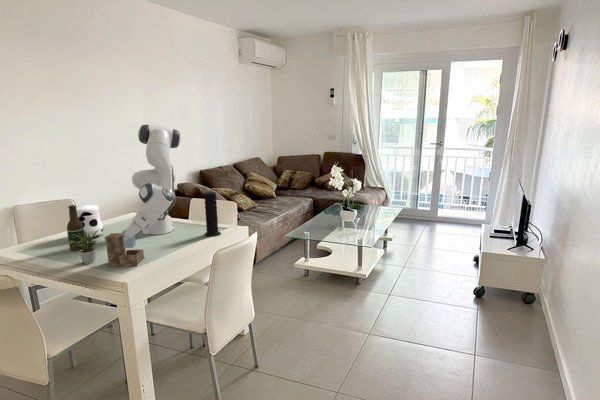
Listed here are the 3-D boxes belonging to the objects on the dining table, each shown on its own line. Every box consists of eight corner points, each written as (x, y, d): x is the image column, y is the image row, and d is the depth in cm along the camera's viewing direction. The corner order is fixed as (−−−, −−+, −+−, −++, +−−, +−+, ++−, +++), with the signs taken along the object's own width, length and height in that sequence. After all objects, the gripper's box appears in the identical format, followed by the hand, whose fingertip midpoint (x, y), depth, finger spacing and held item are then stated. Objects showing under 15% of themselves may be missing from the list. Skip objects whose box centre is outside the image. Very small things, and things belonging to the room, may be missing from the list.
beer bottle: (89, 247, 210) (83, 204, 205) (77, 251, 202) (71, 207, 198) (78, 245, 212) (73, 203, 207) (66, 250, 205) (60, 206, 200)
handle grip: (218, 236, 225) (223, 232, 234) (215, 192, 219) (220, 189, 229) (201, 236, 226) (207, 231, 235) (198, 192, 220) (204, 189, 230)
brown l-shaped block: (144, 258, 191) (141, 231, 188) (137, 266, 181) (134, 237, 178) (115, 259, 190) (112, 232, 187) (106, 266, 180) (102, 238, 178)
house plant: (93, 254, 197) (89, 224, 194) (112, 258, 192) (109, 226, 189) (67, 264, 184) (62, 231, 181) (87, 268, 179) (83, 234, 176)
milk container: (104, 231, 240) (100, 203, 236) (103, 238, 224) (99, 209, 221) (72, 235, 232) (68, 206, 229) (69, 243, 217) (65, 212, 213)
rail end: (135, 245, 186) (134, 229, 184) (132, 247, 182) (130, 231, 180) (127, 245, 186) (125, 229, 184) (124, 248, 182) (122, 231, 180)
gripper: (148, 208, 191) (130, 227, 193) (133, 218, 171) (113, 239, 173) (158, 216, 192) (140, 235, 194) (144, 227, 172) (124, 249, 174)
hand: (127, 237), depth 183 cm, fingers closed on rail end, 4 cm apart
